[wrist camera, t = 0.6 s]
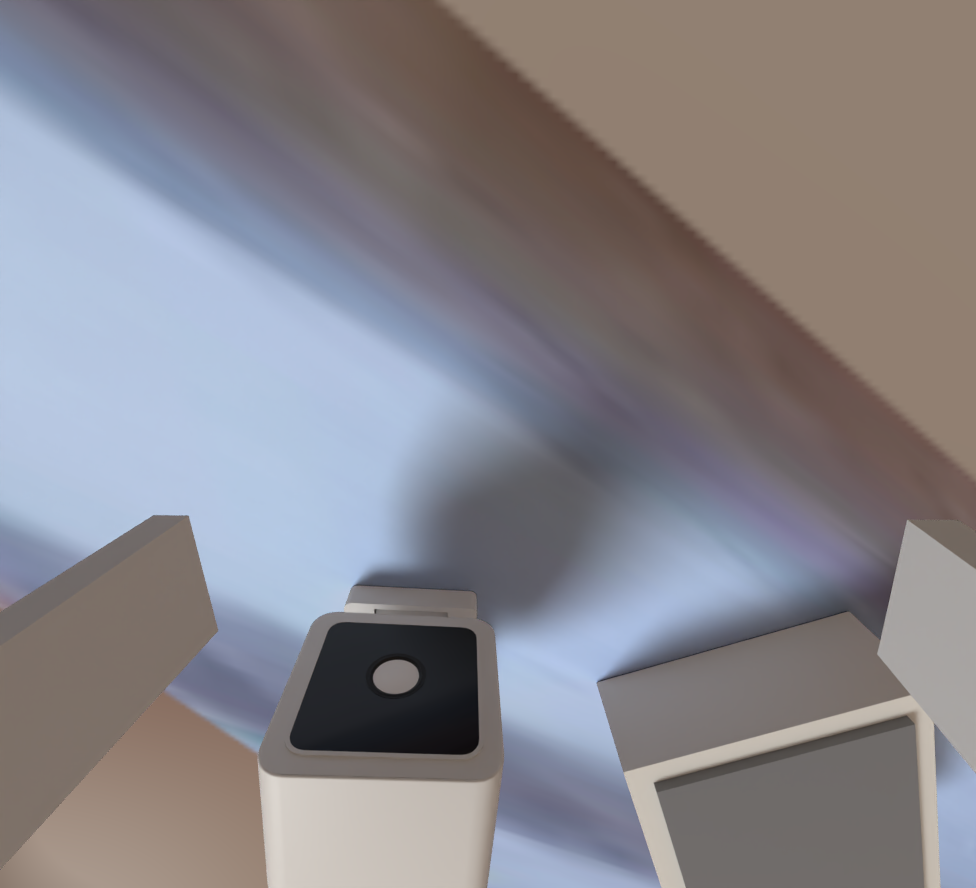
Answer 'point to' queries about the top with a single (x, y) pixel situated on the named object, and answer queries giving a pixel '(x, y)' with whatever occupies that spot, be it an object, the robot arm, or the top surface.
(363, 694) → the security camera
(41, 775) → the robot arm
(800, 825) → the cream gray-topped block
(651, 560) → the top surface
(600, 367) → the top surface
